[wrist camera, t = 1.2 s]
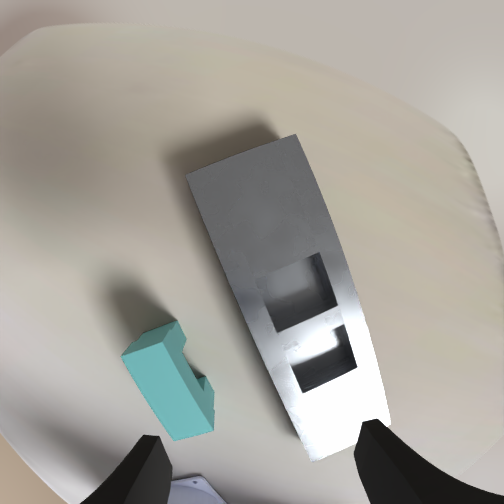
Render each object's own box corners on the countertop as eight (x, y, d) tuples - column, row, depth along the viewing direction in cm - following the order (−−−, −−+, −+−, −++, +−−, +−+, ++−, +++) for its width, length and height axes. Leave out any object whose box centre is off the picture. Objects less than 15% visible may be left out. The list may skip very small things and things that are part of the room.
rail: (304, 442, 23) (312, 462, 20) (190, 182, 20) (185, 175, 17) (376, 407, 23) (390, 423, 20) (286, 146, 21) (295, 133, 18)
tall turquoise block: (215, 393, 22) (213, 430, 17) (182, 404, 21) (174, 441, 17) (176, 317, 21) (162, 341, 16) (141, 330, 21) (120, 356, 16)
